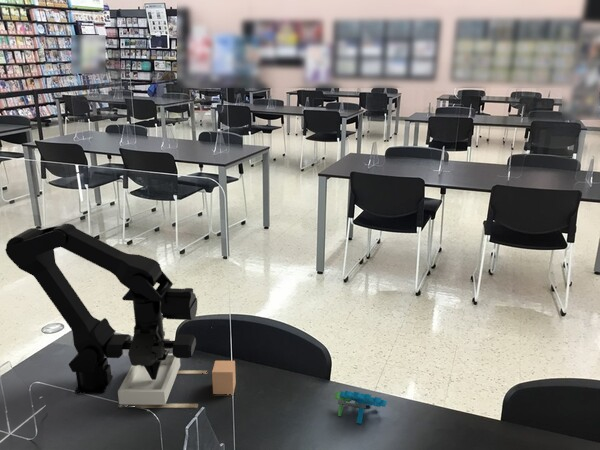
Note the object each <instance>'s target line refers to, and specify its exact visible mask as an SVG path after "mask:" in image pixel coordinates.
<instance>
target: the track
mask: <svg viewBox="0 0 600 450" xmlns="http://www.w3.org/2000/svg"><path fill="white" fill-rule="evenodd" d="M207 371H208V370H193V369H192V370H180V369H179V370H178V373H177V375H208V372H207ZM206 372H207V373H206ZM202 373H203V374H202ZM118 406H119V407H120V405H119V404H118ZM129 406H135V407H141V408H140V409H145V408H146V409H198V408H199V403H166V404H165V405H139V404H129V405H128V406H127V407H129ZM121 407H125V406H124V404H122V406H121Z"/></svg>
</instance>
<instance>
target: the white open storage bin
mask: <svg viewBox="0 0 600 450" xmlns="http://www.w3.org/2000/svg"><path fill="white" fill-rule="evenodd" d="M180 368H181V358H176V357H175V356H174V355H173V352H172V353H170V352H169V353H168V356H167V358H166V359H165V360H163V361H161V364H160V368H159V371H158V375H157V378H156V380H152V379H151V377H150V375H149V374H148V372H147V370H146V368H145V367H144V365H137V366H133V365H132V364H131V366H130V369H129V370H128V371H127V373H126V376H125V377H124V379H123V381H122V383H121V385H120V387H119V388H118V390H117V396H118V405H119V404H124V405H129V404H139V405H165V404H167V401H168V400H169V399H168V398H169V396H170V393H171V391H172V388H173V385H174V383H175V380H176V378H177V375H178V374H177V373H178V370H180Z"/></svg>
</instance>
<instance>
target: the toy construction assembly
mask: <svg viewBox="0 0 600 450" xmlns="http://www.w3.org/2000/svg"><path fill="white" fill-rule="evenodd" d="M334 399H335V400H337V404H338V405H339V407H338V410H337V411H338V413H337V416H338V417H342V413H343V408H344V406H345V407H346V406H347V407H350V408H355V409H356V408H357V409H358V411H357V417H356V424H360V425H362V424H363V416H364V410H365V409H366V408H367V407H366V406H369V407H372V406H374V407H377V408H381V407H383V408H386V406H387V403H388V401H387V400H386V399H382V397H378V396H375V397H372V394H368V393H361V392H359V391H353V392H352V391H349V390H344V391H342V390H340V392H339V391H335V393H334ZM352 401H354V402H355V403H351V402H352Z"/></svg>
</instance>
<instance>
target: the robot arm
mask: <svg viewBox="0 0 600 450" xmlns="http://www.w3.org/2000/svg"><path fill="white" fill-rule="evenodd" d="M58 248H59V249H60V248H62V249H64V250H66V251H68V252H70V253H73V254H75V255H76V256H78V257H80V258H82V259H84V260H86V261H88V262H90V263H92V264H94V265H96V266H99V267H100V268H102V269H104V270H106V271H108V272H109V273H111V274H112V275H114V276H115V277H116V279H117V280H118V281H119V282H120V284H121V285H123V286H124V287H126V288H128V291H127V292H126V293H125V294H124V295H123V296H122V298H121V299H122V300H123V301H127V302H128V301H129V302H130V301H131V302H132V304H133V305H132V306H133V307H132V308H133V315H134V316H133V317H134V323H135V325H134V326H133V337H131V334H129V333H127V334H126V333H124V334H123V333H122V334H120V333H119V334H117V333H116V330H115V329H114V328H113V327H112V326H111V324H110V322H109V321H108V319H107V318H106V317H104V318H102V319H98V318H97V317H94V316H93V315H92V314H91V312H90V311H89V309H88V308H87V307H86V305H85V304H84V303H83V300H81V298H80V297H79V295H78V294H77V292H76V291H75V289H74V288H73V286H72V285H71V283H70V282H69V280H68V279H67V278H66V276H65V274H64V273H63V271H62V270H61V268H59V266H58V264H57V263H56V255H55V249H58ZM4 250H5V254H6V255H7V257H8V258H9V259H10V261H11V262H12V263H13V264H15V266H16V267H17V268H18V269H19V270H21V271H24V272H25V273H27V274H30V275H31V276H33V278H34V279H35V280H36V281H37V283H38V284H39V286H40V288H41V289H42V290H43V291H44V292H45V294H46V295H47V297H48V298H49V299H50V301H51V303H52V304H53V305H54V307H55V309H56V310H57V311H58V312H59V314H60V315H61V316H62V318H63V320H64V321H65V322H66V324H67V325H68V327H69V328H70V329H71V331H72V333H71V334H72V341H73V346H74V348H75V350H76V352H77V354H76V355H75V356H74V358H72V359H71V361H70V362H69V363H68V366H69V368H70V370H71V372H72V373H75V377H76V384H77V387H76V388H75V390H74V394H90V395H91V394H99V395H100V394H104V393H105V392H106V391H107V389H108V387H109V386H110V384H111V382H112V380H113V376H114V375H112V368H111V367H112V366H111V364H109V361H108V359H120V358H121V357H122V356H123V354H124V351H123V350H125V351H126V350H128V352H127V354H128V357H129V361H130V364H131V366H132V365H133V366H137V365H144V367H145V368H146V370H147V372H148V374H149V375H150V377H151V379H152V380H156V378H157V375H158V371H159V368H160V364H161V361H163V360H165V359H166V358H167V356H168V353H170V351H172V353H173V355H174V356H175V357H176V358H180V359H190V358H192V356H193V354H194V351H195V348H196V345H197V340H196V337H195V336H194V335H193V334H190V333H189V334H186V333H185V334H183V333H181V334H180V333H178V334H177V335H176V337H175V340H170V338H165V335H166V331H164V323H163V320H165V319H167V320H176V321H177V320H180V321H181V320H184V321H194V320H195V319H196V316H197V311H198V298H197V295H196V294H195V293H194V288H192V287H186V288H185V287H184V288H173V287H172V286H173V285H174V284H173V282H172V281H171V280H170V278H169V277H168V276H167V275H166V273H164V271H163V270H162V268H161V264H160V263H159V262H158V261H157V260H155V259H152V258H150V257H148V256H143V255H142V254H136V253H134V254H132V253H127V252H125V251H121V250H120V249H117V248H116V247H114V246H112V245H110V244H108V243H106V242H104V241H102V240H101V239H98V238H96V237H94V236H92V235H90V234H88V233H86V232H85V231H83V230H81V229H78V228H77V227H76V226H75V225H74V224H72V223H63V224H61V225H56V226H49V227H45V228H43V229H39V228H37V227H31V228H28V229H26V230H24V231H22V232H21V233H19V234H17V235H15V236H13V237H11V238H10V239H8V241H7V243H6V247H5V249H4ZM156 284H158V286H157V288H155V287H154V286H156Z"/></svg>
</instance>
